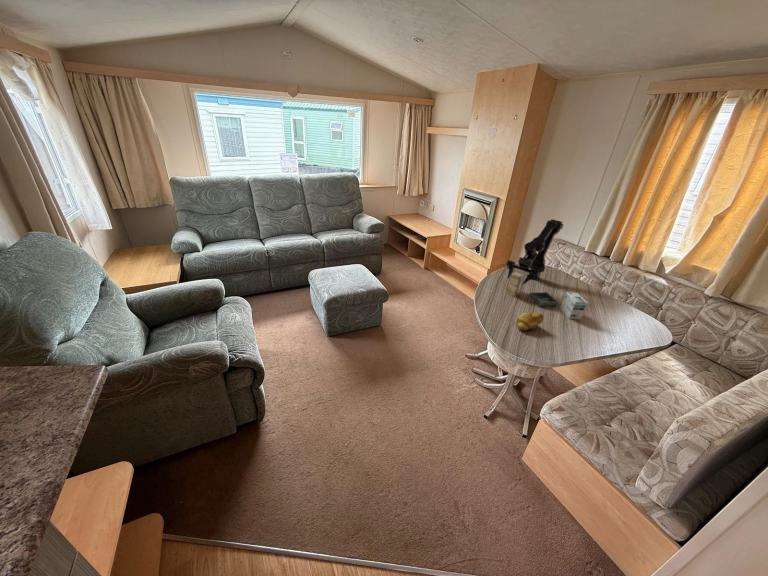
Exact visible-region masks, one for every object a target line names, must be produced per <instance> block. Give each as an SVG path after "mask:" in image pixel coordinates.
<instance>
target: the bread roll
mask: <svg viewBox="0 0 768 576" xmlns="http://www.w3.org/2000/svg"><path fill="white" fill-rule="evenodd" d="M543 321H544V315H543V314H542V313H540V312H538V313H537V312H535V313H534V312H533V313H531V312H528V311H527V312H525V311H524V312H523V313H522V314H520V315H519V316H518V317H517V318H516V323H517V328H518V329H519V330H521V331H525V332H526V331H528V330H529V331H531V330H535V329H536V328H537V327H538V326H539V325H540V324H541V323H542V322H543Z"/></svg>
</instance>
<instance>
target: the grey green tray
mask: <svg viewBox="0 0 768 576" xmlns="http://www.w3.org/2000/svg"><path fill="white" fill-rule="evenodd" d="M529 297H530V298H531V299H532V300H533V301H534V302H535V303H534V302H533V301H532V300H531V299H530V298H529ZM528 298H529V299H530V300H531V301H532V302H533V303H534V304H535V305H537V306H538V308H547V307H548V308H550V307H551V308H552V307H553V308H555V307H558V305H559V301H558V300H557V299H556V298H554V297H553V296H552V295H551V294H550V293H548V292H547V291H545V292H543V291H541V292H529V295H528Z"/></svg>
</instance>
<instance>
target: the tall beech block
mask: <svg viewBox="0 0 768 576" xmlns="http://www.w3.org/2000/svg"><path fill="white" fill-rule="evenodd" d="M522 278H523V274H520V273H518V272H512V274H511V276H510V278H509V283H508V286H507V288H506V292H505V293H506V294H507V293H508V294H507V295H509V294H510V296H512V295H513V296H512V297H514V296H515V294H516V293H518V291H519V287H520V284H521V281H522ZM516 295H517V294H516Z"/></svg>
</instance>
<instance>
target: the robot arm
mask: <svg viewBox="0 0 768 576" xmlns="http://www.w3.org/2000/svg"><path fill="white" fill-rule="evenodd" d="M563 227H564V223H563V221H560V220H556V219H551V220H547V221H546V224H545V226H544V227H543V229H542V230H541V232H540V233H539V235H538V236H537V237H534V238H533V239H532V240H531V241H530V242H526V244H524V246H523V247H524V253H525V254H524V256H523V257H519V258H518V261H517V263H518V264H516V263H515V261H513V260H507V261H506V263H505V264H506V267H507V268H508V274H507V279H510V278H511V275H512V274H513V273H514V270H515V269H517V270H520V271H523V272H526V273H528V274H526V278H525V279H524V280H523V282H522V285H525V284H527V283H528V282H529V281H531V280H532V281H533V280H534V281H535V280H537V281H538V280H539V281H540V280H541V278H540V276H541V274H542V273H544V272H545V269H546V264H545V263H546V258H545V257H546V254H547V252H548V250H549V248H550V246H551V244H552V242H553V240H554V237H555V236H556V235H557V234H559V233H560V231H561V230H562V229H563Z"/></svg>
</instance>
